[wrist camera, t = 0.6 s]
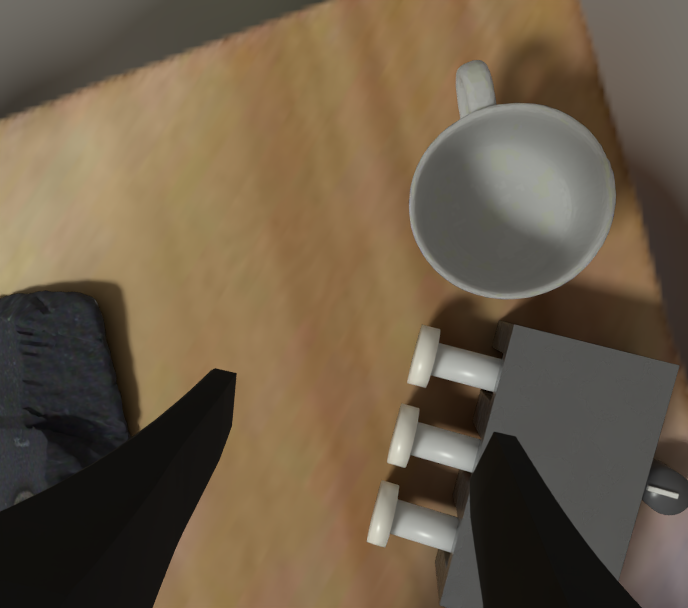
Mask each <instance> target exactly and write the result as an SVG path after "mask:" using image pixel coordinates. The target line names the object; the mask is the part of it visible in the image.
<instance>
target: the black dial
mask: <svg viewBox="0 0 688 608" xmlns="http://www.w3.org/2000/svg"><path fill="white" fill-rule="evenodd" d="M642 500H643V501H644V502H645V503H646V504H647V505H649V506H650V507H651V508H652V509H653V510H655V511H656V512H658V513H660V514H664V515H675V514H678V513H681V512H682V511H684V510H685V509H686V508H687V507H688V481H687V480H686V479H685V478H684V477H683V476H682V475H680V474H679V473H677V472H676V471H674V470H673V469H671V468H670V467H668V466H666V465H665V464H663V463H662V462H660V461H658V460H655V459H653V461H652V464H651V468H650V471H649V475H648V478H647V482H646V485H645V489H644V492H643V496H642Z"/></svg>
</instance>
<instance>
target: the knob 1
mask: <svg viewBox="0 0 688 608" xmlns="http://www.w3.org/2000/svg"><path fill="white" fill-rule="evenodd" d="M439 338H440V329H437V328H433V327H429V326H425V325H422V326H421V329H420V332H419V335H418V339H417V342H416V346H415V350H414V354H413V358H412V362H411V366H410V371H409V375H408V381H407V383H409V384H413V385H417V386H420V387H424V388H426V386H427V384H428V381H429V379H430V375H432V376H436V377H440V378H443V379H447V380H451V381H455V382H458V383H462V384H466V385H470V386H473V387H477V388H481V389H484V390H488V391H492V392H493V391H494V387H495V384H496V380H497V376H498V372H499V369H500V365H501V361H502V359H499V358H495V357H491V356H488V355H484V354H480V353H476V352H472V351H468V350H464V349H460V348H457V347H453V346H449V345H445V344H441V343H439Z"/></svg>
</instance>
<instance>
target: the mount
mask: <svg viewBox="0 0 688 608" xmlns="http://www.w3.org/2000/svg"><path fill="white" fill-rule="evenodd" d="M492 347H494V348H495V349H497V350H499V351H501V352H502V353H504V354H503V357H502V361H501V365H500V369H499V372H498V376H497V380H496V384H495V387H494V391H493V393H490V392H486V391H482V390H480V394H479V398H478V401H477V405H476V409H475V413H474V416H473V420H472V422H473V424H474V425H475V427H476V429H477V431H478V433H479V435H480V437H481V440H480V444H479V448H478V451H477V455H476V459H475V463H474V466H473V470H472V473H471V472H468V471H464V470H461V469H459V473H458V477H457V481H456V484H455V488H454V492H453V498H454V502H455V506H456V511H457V515H458V520H459V523H458V527H457V530H456V534H455V538H454V542H453V545H452V549H451V552H447V551H444V550H441V549H438V553H437V556H436V560H435V567H436V576H437V586H438V595H439V605H440V606H443V607H446V608H483V602H482V595H481V588H480V581H479V575H478V568H477V561H476V554H475V547H474V540H473V533H472V526H471V518H470V478H471V476H472V474H473V472H474V470H475V468H476V466H477V464H478V462H479V460H480V458H481V456H482V454H483V452H484V450H485V448H486V446H487V444H488V442H489V440H490V438H491V436H492V434H493V432H499V433H503V434H508V435H512V436H516V437H517V439H518V441H519V442H520V444H521V445H522V447H523V449H524V450H525V452H526V453H527V455H528V457H529V458H530V460H531V461H532V463H533V465H534V466H535V468H536V469H537V471H538V473H539V474H540V476H541V477H542V479H543V480H544V482H545V484H546V485H547V487H548V488H549V490H550V491H551V493H552V494H553V496H554V497H555V499H556V500H557V502H558V503H559V505H560V506H561V508H562V509H563V511H564V512H565V514H566V515H567V516H568V518H569V519H570V521H571V522H572V524H573V525H574V526H575V528H576V529H577V530H578V532H579V533H580V534H581V536H582V537H583V538H584V540H585V541H586V542H587V544H588V545H589V546H590V548H591V549H592V550H593V552H594V553H595V554H596V555H597V557H598V558H599V559H600V560H601V562H602V563H603V564H604V565H605V566H606V568H607V569H608V570H609V571H610V572H611V574H612V575H613V576H614V577H615V578H616V579H617V581H618V580H619V577H620V573H621V570H622V566H623V563H624V559H625V556H626V552H627V549H628V545H629V542H630V538H631V535H632V531H633V528H634V524H635V521H636V517H637V514H638V510H639V506H640V503H641V499H642V496H643V492H644V489H645V485H646V482H647V478H648V475H649V471H650V468H651V464H652V461H653V457H654V454H655V450H656V447H657V443H658V440H659V436H660V433H661V429H662V426H663V422H664V419H665V415H666V411H667V408H668V404H669V401H670V397H671V394H672V390H673V387H674V383H675V380H676V376H677V373H678V369H679V365H675V364H671V363H667V362H664V361H660V360H656V359H652V358H648V357H644V356H640V355H636V354H632V353H628V352H624V351H620V350H616V349H612V348H608V347H604V346H600V345H596V344H592V343H588V342H584V341H580V340H576V339H572V338H568V337H563V336H559V335H555V334H551V333H547V332H543V331H539V330H535V329H531V328H527V327H523V326H519V325H515V324H511V323H507V322H503V321H499V322H498V326H497V330H496V333H495V337H494V341H493V345H492Z"/></svg>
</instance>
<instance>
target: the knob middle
mask: <svg viewBox="0 0 688 608" xmlns="http://www.w3.org/2000/svg"><path fill="white" fill-rule="evenodd" d="M418 418H419V408H417V407H413V406H409V405H406V404H401V406H400V409H399V413H398V416H397V420H396V424H395V428H394V432H393V436H392V440H391V444H390V449H389V454H388V459H387V463H390V464H393V465H397V466H400V467H403V468H406V466H407V463H408V460H409V457H410V455H413V456H416V457H420V458H423V459H427V460H430V461H433V462H437V463H440V464H444V465H447V466H451V467H454V468H458V469H461V470H464V471H468V472H471V473H472V470H473V466H474V463H475V459H476V455H477V451H478V448H479V444H480V440H481V439H477V438H474V437H470V436H466V435H463V434H459V433H456V432H452V431H449V430H445V429H442V428H438V427H434V426H431V425H427V424H424V423H420V422H418Z"/></svg>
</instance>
